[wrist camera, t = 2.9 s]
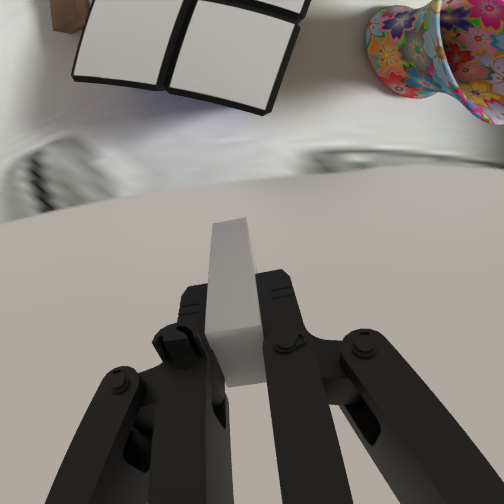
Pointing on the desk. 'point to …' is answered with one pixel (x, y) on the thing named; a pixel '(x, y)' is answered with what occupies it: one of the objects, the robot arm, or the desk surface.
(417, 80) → the mug
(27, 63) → the desk surface
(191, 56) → the puzzle cube
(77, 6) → the channel
